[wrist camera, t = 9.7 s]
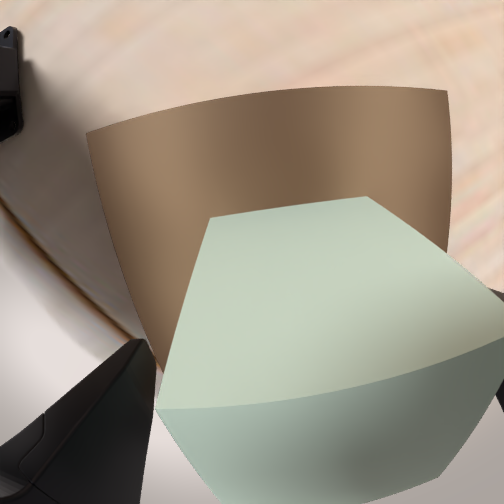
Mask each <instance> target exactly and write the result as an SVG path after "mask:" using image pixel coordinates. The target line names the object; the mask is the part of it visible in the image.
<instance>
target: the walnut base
mask: <svg viewBox="0 0 504 504" xmlns="http://www.w3.org/2000/svg"><path fill="white" fill-rule="evenodd" d="M86 136H87V142H88V147H89V152H90V156H91V161H92V166H93V170H94V175H95V179H96V183H97V187H98V191H99V195H100V199H101V203H102V207H103V210H104V214H105V218H106V221H107V225H108V228H109V231H110V235H111V238H112V241H113V245H114V248H115V251H116V254H117V257H118V260H119V263H120V266H121V269H122V272H123V275H124V278H125V281H126V284H127V286H128V289H129V292H130V295H131V297H132V300H133V303H134V305H135V308H136V311H137V313H138V316H139V318H140V321H141V323H142V326H143V328H144V331H145V333H146V335H147V338H148V340H149V342H150V345H151V347H152V349H153V352H154V354H155V356H156V358H157V361H158V363H159V365H160V367H161V369H162V372H163V374H164V371H165V367H166V363H167V360H168V356H169V352H170V349H171V345H172V341H173V338H174V334H175V331H176V327H177V324H178V320H179V317H180V313H181V310H182V306H183V303H184V299H185V296H186V293H187V289H188V286H189V283H190V279H191V276H192V273H193V270H194V267H195V263H196V260H197V257H198V254H199V251H200V248H201V244H202V241H203V238H204V235H205V232H206V229H207V226H208V223H209V220H210V218H214V217H220V216H226V215H232V214H239V213H245V212H252V211H258V210H265V209H272V208H279V207H286V206H293V205H300V204H308V203H315V202H323V201H331V200H339V199H347V198H356V197H365V196H367V197H369V198H370V199H372V200H373V201H375V202H376V203H378V204H379V205H381V206H382V207H384V208H385V209H387V210H388V211H390V212H391V213H393V214H394V215H395V216H397V217H398V218H400V219H401V220H403V221H404V222H405V223H407V224H408V225H410V226H411V227H412V228H414V229H415V230H416V231H418V232H419V233H420V234H422V235H423V236H425V237H426V238H427V239H428V240H430V241H431V242H432V243H434V244H435V245H436V246H438V247H439V248H440V249H442V250H443V251H444V252H445V253H447V246H448V237H449V226H450V212H451V191H452V148H451V127H450V114H449V103H448V94H447V91H445V90H436V89H425V88H411V87H392V86H333V87H313V88H299V89H287V90H277V91H268V92H260V93H252V94H245V95H238V96H232V97H226V98H220V99H214V100H209V101H203V102H198V103H193V104H189V105H184V106H180V107H175V108H171V109H167V110H163V111H158V112H155V113H151V114H147V115H143V116H140V117H136V118H132V119H129V120H126V121H122V122H119V123H116V124H112V125H109V126H106V127H103V128H100V129H97V130H94V131H91V132H88V133H86Z"/></svg>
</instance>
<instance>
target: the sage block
mask: <svg viewBox="0 0 504 504" xmlns="http://www.w3.org/2000/svg"><path fill="white" fill-rule="evenodd" d="M503 379H504V302H503V301H502V300H501V299H500V298H499V297H497V296H496V295H495V294H494V293H493V292H492V291H491V290H490V289H489V288H487V287H486V286H485V285H484V284H483V283H482V282H481V281H479V280H478V279H477V278H476V277H475V276H474V275H472V274H471V273H470V272H469V271H468V270H466V269H465V268H464V267H463V266H462V265H460V264H459V263H458V262H457V261H455V260H454V259H453V258H452V257H450V256H449V255H448V254H447V253H445V252H444V251H443V250H442V249H440V248H439V247H438V246H436V245H435V244H434V243H432V242H431V241H430V240H428V239H427V238H426V237H425V236H423V235H422V234H420V233H419V232H418V231H416V230H415V229H414V228H412V227H411V226H410V225H408V224H407V223H405V222H404V221H403V220H401V219H400V218H398V217H397V216H395V215H394V214H393V213H391V212H390V211H388V210H387V209H385V208H384V207H382V206H381V205H379V204H378V203H376V202H375V201H373V200H372V199H370V198H369V197H367V196H365V197H356V198H347V199H339V200H331V201H323V202H315V203H308V204H300V205H293V206H286V207H279V208H272V209H265V210H258V211H252V212H245V213H239V214H232V215H226V216H220V217H214V218H210V220H209V223H208V226H207V229H206V232H205V235H204V238H203V241H202V244H201V248H200V251H199V254H198V257H197V260H196V263H195V267H194V270H193V273H192V276H191V279H190V283H189V286H188V289H187V293H186V296H185V299H184V303H183V306H182V310H181V313H180V317H179V320H178V324H177V327H176V331H175V334H174V338H173V341H172V345H171V349H170V352H169V356H168V360H167V363H166V367H165V371H164V375H163V379H162V382H161V386H160V390H159V394H158V398H157V402H156V407H155V410H156V412H157V413H158V415H159V417H160V418H161V420H162V421H163V423H164V425H165V426H166V428H167V429H168V431H169V432H170V434H171V436H172V437H173V439H174V440H175V442H176V443H177V445H178V446H179V447H180V449H181V451H182V452H183V453H184V455H185V456H186V458H187V459H188V460H189V462H190V463H191V465H192V466H193V468H194V469H195V470H196V471H197V473H198V474H199V476H200V477H201V478H202V480H203V481H204V482H205V483H206V485H207V486H208V487H209V489H210V490H211V491H212V492H213V494H214V495H215V496H216V497H217V499H218V500H219V501H220V502H221V503H222V504H362V503H366V502H370V501H373V500H377V499H380V498H383V497H386V496H389V495H393V494H396V493H399V492H402V491H404V490H407V489H410V488H413V487H415V486H418V485H421V484H423V483H425V482H428V481H430V480H433V479H435V478H438V477H439V476H440V475H441V473H442V472H443V471H444V470H445V469H446V467H447V466H448V465H449V463H450V462H451V461H452V460H453V458H454V457H455V456H456V454H457V453H458V452H459V450H460V449H461V448H462V446H463V445H464V443H465V442H466V440H467V439H468V438H469V436H470V434H471V433H472V432H473V430H474V429H475V427H476V426H477V424H478V423H479V421H480V419H481V418H482V416H483V415H484V413H485V411H486V410H487V408H488V406H489V405H490V403H491V401H492V399H493V398H494V396H495V394H496V392H497V390H498V389H499V387H500V385H501V383H502V381H503Z"/></svg>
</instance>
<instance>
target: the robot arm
mask: <svg viewBox="0 0 504 504" xmlns="http://www.w3.org/2000/svg"><path fill="white" fill-rule="evenodd" d="M9 34H10V35H9ZM8 35H9V37H8ZM14 123H15V129H14ZM22 128H23V117H22V109H21V100H20V90H19V77H18V56H17V28H15V27H11V26H9V27H7V28H6V29H4V30H3V31H1V32H0V144H1V143H3V142H5V141H7V140H8V139H10V138H12V137H14V136H16V135H18V134H19V133H20V132H21V131H22ZM489 289H490V288H489ZM490 290H491V291H492V292H493V293H494V294H495V295H496V296H497V297H499V298H500V299H501V300H502V301H503V302H504V293H502V292H499V291H496V290H493V289H490ZM155 381H156V362H155V359H154V357H153V355H152V352H151V350H150V348H149V345H148V343H147V341H146V340H144V339H131V340H129V341H128V342H127V343H126V344H124V345H123V346H122V347H121V348H120V349H118V350H117V351H116V352H115V353H114V354H112V355H111V356H110V357H109V358H108V359H107V360H105V361H104V362H103V363H102V364H101V365H99V366H98V367H97V368H96V369H95V370H93V371H92V372H91V373H90V374H89V375H87V376H86V377H85V378H84V379H83V380H81V381H80V382H79V383H78V384H77V385H76V386H74V387H73V388H72V389H71V390H70V391H68V392H67V393H66V394H65V395H64V396H63V397H61V398H60V399H59V400H58V401H57V402H55V403H54V404H53V405H52V406H51V407H50V408H48V409H47V410H46V411H45V414H44V413H42V414H41V415H40V416H39V417H38V418H37V419H35V420H34V421H33V422H32V423H31V424H29V425H28V426H27V427H26V428H24V429H23V430H22V431H21V432H20V433H18V434H17V435H15V436H14V437H13V438H11V439H10V440H9V441H7V442H6V443H4V444H3V445H2V446H0V504H140V497H141V490H142V482H143V475H144V468H145V461H146V454H147V449H148V443H149V437H150V431H151V425H152V419H153V410H154V395H155ZM495 395H496V397H497V399H498V401H499V403H500V405H501V407H502V410H503V412H504V379H503V381H502V383H501V385H500V387H499V389H498V390H497V392H496V394H495Z"/></svg>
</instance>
